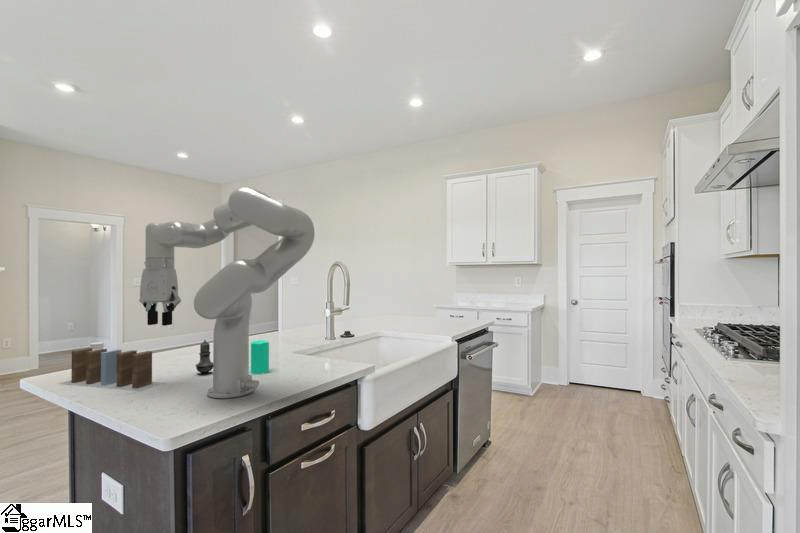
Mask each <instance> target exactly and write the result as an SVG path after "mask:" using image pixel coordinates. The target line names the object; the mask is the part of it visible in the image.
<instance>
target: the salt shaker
mask: <svg viewBox="0 0 800 533" xmlns="http://www.w3.org/2000/svg"><path fill="white" fill-rule="evenodd" d="M199 347H200V350H199V351H200V352H199V353H198V355H199V361H198V363H196V364H195V368H196V371H197V372H199V373H197V376H201V377H202V376H210V375H213V362H212V361H211V357H210V354H211V352H210V347H211V346H210V343H209V342H208V341H207V340H206V339H204V340H203V342H202V343H200V346H199ZM211 371H212V372H211Z"/></svg>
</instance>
